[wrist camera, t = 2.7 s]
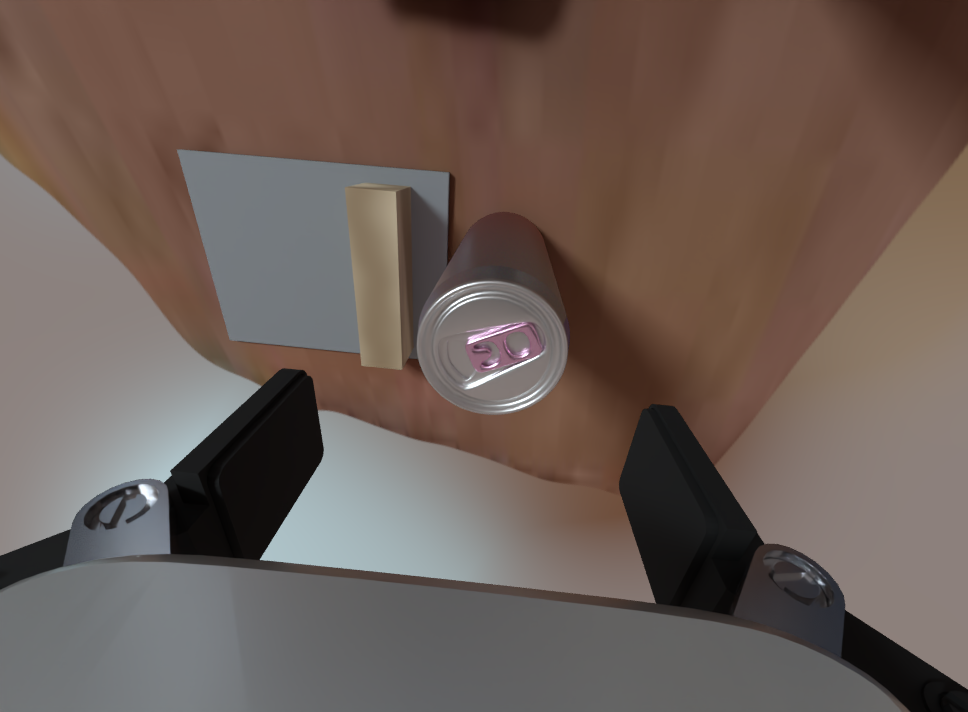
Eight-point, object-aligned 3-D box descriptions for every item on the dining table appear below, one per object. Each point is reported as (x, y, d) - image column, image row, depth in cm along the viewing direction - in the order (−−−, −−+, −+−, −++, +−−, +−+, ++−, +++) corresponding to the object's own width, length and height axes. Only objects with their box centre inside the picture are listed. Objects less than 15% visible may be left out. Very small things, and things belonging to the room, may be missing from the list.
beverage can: (556, 278, 28) (592, 396, 15) (480, 305, 29) (450, 434, 16) (530, 196, 25) (544, 248, 12) (448, 230, 27) (382, 309, 13)
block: (410, 186, 25) (395, 191, 22) (413, 347, 31) (402, 369, 28) (365, 182, 25) (344, 187, 22) (376, 344, 31) (361, 365, 28)
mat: (449, 172, 25) (448, 172, 24) (444, 359, 32) (443, 361, 31) (181, 149, 25) (176, 149, 25) (233, 337, 32) (229, 340, 32)
